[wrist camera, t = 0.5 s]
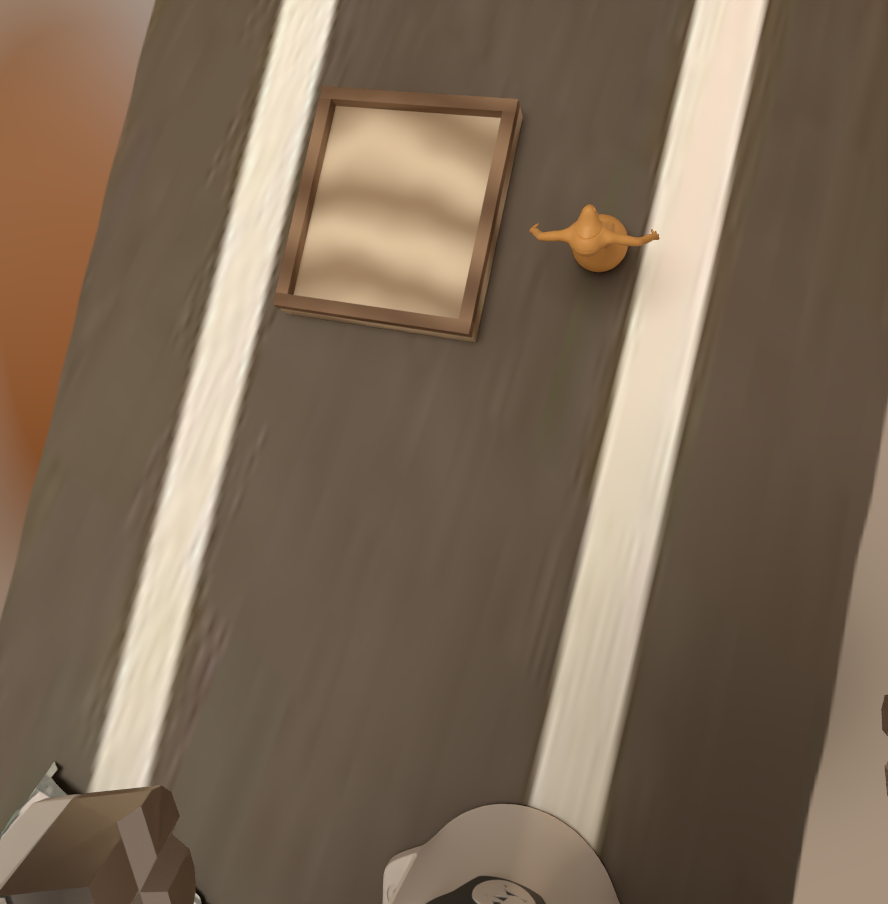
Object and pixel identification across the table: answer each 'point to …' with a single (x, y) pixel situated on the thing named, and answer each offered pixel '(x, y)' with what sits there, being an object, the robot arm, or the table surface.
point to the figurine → (595, 239)
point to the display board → (400, 210)
